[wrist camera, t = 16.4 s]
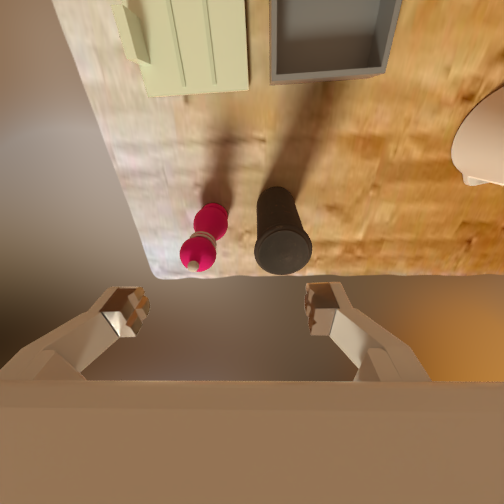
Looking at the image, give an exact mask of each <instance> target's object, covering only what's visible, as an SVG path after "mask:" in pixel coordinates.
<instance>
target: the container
mask: <svg viewBox="0 0 504 504" xmlns="http://www.w3.org/2000/svg"><path fill="white" fill-rule="evenodd" d="M311 254H312V243H311V240H310V238H309V236H308V234H307V233H306V232H305V231H304V230H303V227H302V224H301V221H300V218H299V215H298V212H297V209H296V206H295V203H294V200H293V197H292V195H291V194H290V192H289V191H288V190H286V189H284V188H282V187H272V188H269V189H267V190H265V191H264V192H263V193H262V194H261V195H260V197H259V199H258V202H257V241H256V244H255V248H254V255H255V259H256V261H257V263H258V264H259V266H260V267H261V268H262V269H264V270H265V271H267V272H269V273H272V274H276V275H287V274H291V273H294V272H296V271H298V270H300V269H302V268H303V267H304V266H305V265H306V264H307V263H308V261H309V259H310V257H311Z"/></svg>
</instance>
